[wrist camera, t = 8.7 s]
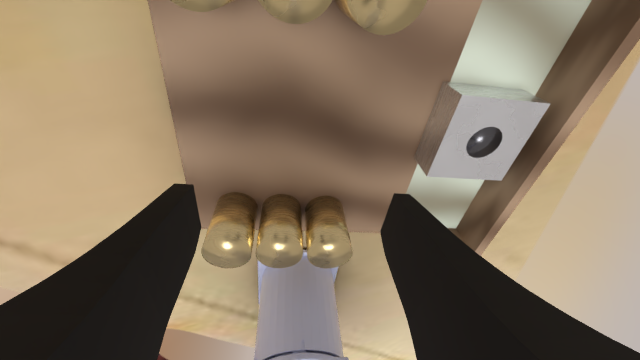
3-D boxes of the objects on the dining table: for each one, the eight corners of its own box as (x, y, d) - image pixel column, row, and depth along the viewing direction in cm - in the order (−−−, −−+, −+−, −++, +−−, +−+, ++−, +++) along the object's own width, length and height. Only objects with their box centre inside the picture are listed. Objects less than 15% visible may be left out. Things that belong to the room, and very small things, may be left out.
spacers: (339, 224, 24) (348, 268, 20) (218, 221, 23) (204, 268, 19) (404, -54, 13) (447, -64, 9) (174, -93, 12) (122, -123, 8)
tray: (457, 229, 27) (477, 260, 24) (197, 223, 23) (184, 258, 20) (610, -26, 15) (687, -26, 12) (130, -112, 12) (76, -140, 9)
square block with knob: (482, 161, 21) (501, 180, 19) (414, 157, 20) (426, 176, 18) (523, 89, 18) (550, 103, 16) (443, 81, 17) (462, 94, 15)
